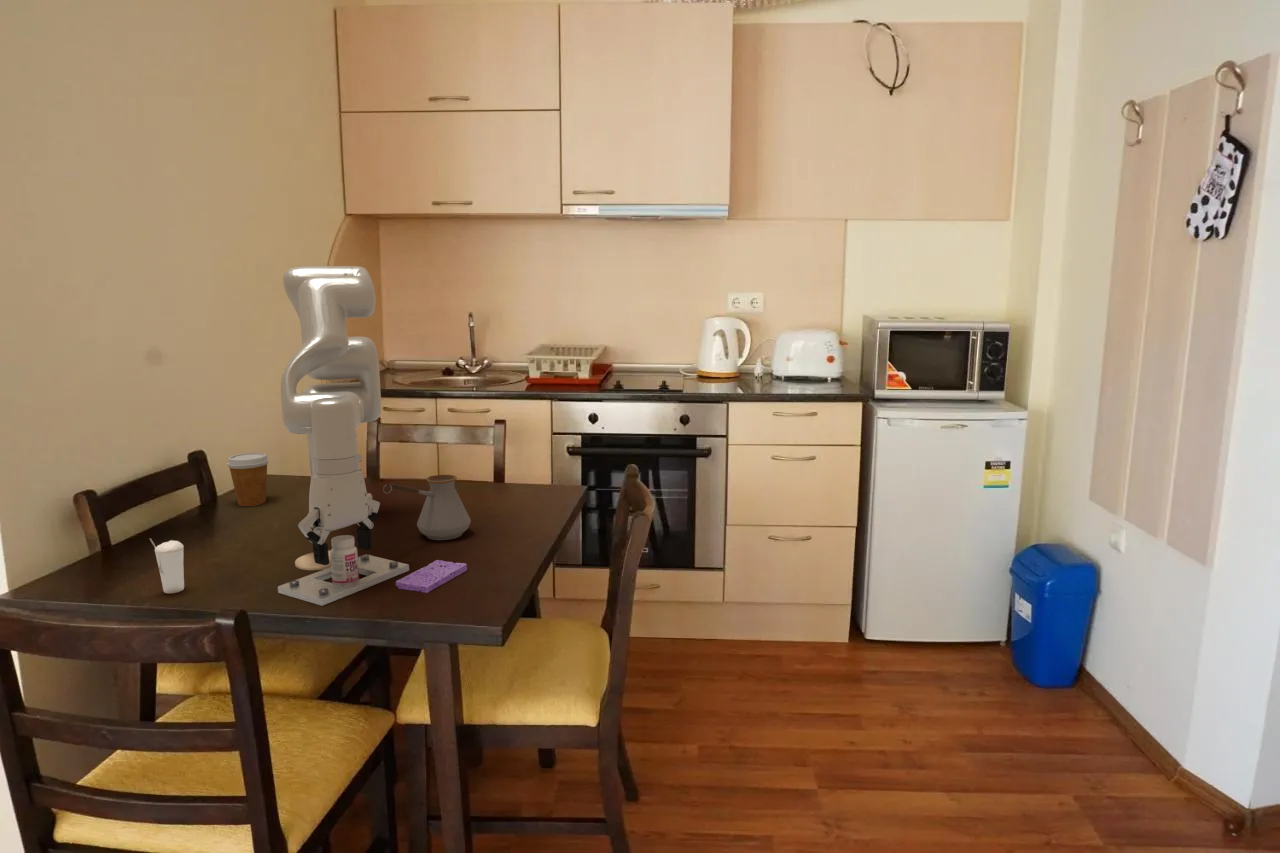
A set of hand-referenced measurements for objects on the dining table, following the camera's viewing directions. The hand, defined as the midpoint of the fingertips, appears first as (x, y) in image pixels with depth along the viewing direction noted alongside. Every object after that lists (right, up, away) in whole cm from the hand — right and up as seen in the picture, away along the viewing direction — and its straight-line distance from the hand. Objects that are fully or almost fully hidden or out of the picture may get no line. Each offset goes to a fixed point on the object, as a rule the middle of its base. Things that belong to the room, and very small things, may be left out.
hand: (344, 556), depth 154 cm
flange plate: (0, -5, +1) cm, 5 cm away
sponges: (+16, -5, +2) cm, 17 cm away
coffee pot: (+9, -1, +24) cm, 26 cm away
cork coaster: (-9, -3, +12) cm, 15 cm away
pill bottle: (0, -5, +1) cm, 5 cm away
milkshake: (-30, -6, -2) cm, 31 cm away
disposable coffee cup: (-43, +4, +55) cm, 70 cm away
